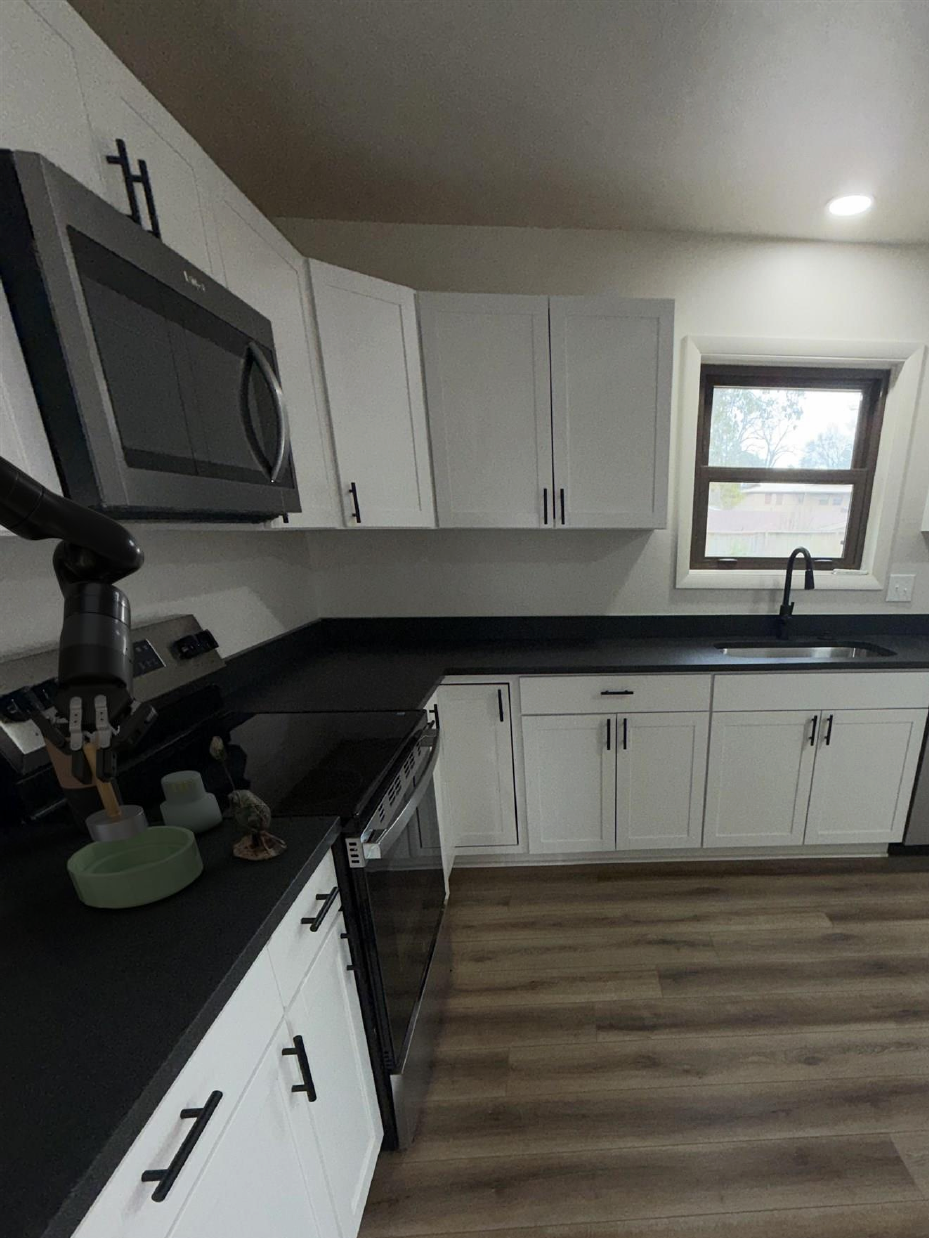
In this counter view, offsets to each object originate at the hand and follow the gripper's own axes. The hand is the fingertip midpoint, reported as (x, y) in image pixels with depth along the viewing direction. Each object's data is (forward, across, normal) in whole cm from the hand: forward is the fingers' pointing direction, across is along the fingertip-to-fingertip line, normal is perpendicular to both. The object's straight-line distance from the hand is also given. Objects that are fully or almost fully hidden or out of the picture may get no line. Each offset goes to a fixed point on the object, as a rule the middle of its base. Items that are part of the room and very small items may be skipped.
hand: (94, 780), depth 78 cm
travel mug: (-13, -17, +44) cm, 49 cm away
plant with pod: (+2, +11, +30) cm, 32 cm away
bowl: (+6, -4, +26) cm, 26 cm away
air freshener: (-8, -1, +39) cm, 40 cm away
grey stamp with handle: (+4, 0, +7) cm, 8 cm away
